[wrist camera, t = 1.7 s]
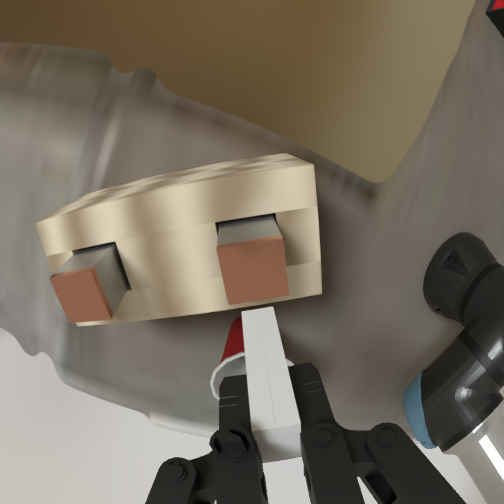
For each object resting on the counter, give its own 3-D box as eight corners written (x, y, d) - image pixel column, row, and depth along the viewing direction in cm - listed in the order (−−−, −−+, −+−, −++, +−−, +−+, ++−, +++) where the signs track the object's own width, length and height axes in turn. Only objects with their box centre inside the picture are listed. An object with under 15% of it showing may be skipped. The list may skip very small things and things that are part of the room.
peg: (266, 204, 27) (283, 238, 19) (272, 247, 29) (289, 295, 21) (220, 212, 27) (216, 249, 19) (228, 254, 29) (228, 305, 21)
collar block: (286, 153, 33) (313, 164, 22) (296, 245, 38) (321, 293, 27) (86, 194, 33) (35, 223, 22) (111, 275, 38) (77, 326, 27)
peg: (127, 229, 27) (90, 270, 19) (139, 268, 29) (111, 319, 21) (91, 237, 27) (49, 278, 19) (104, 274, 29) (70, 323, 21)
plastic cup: (275, 288, 40) (290, 345, 29) (292, 342, 45) (307, 400, 34) (201, 309, 41) (194, 369, 30) (227, 360, 45) (228, 419, 34)
